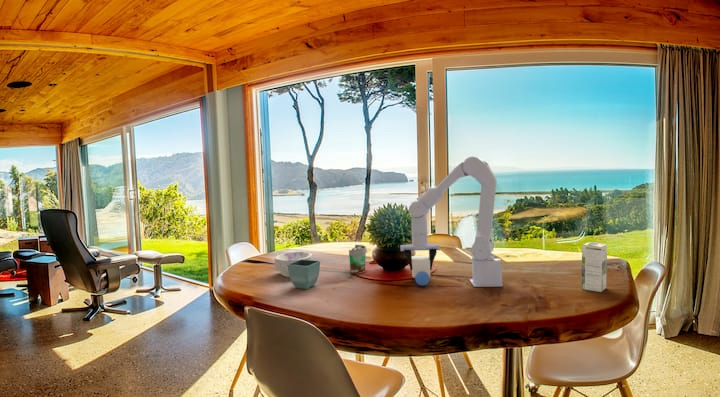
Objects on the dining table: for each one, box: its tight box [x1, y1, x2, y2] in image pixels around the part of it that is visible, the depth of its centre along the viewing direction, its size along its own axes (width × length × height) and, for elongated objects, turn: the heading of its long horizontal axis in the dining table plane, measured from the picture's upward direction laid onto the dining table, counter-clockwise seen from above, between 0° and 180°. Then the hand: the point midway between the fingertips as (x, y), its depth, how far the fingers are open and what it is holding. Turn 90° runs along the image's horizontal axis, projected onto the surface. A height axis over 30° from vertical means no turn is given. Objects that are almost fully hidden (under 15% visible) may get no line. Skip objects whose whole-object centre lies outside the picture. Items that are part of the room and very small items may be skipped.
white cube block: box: [411, 255, 431, 279], centre depth 140 cm, size 6×6×6 cm
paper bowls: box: [274, 251, 313, 278], centre depth 155 cm, size 15×15×8 cm
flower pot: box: [288, 259, 321, 290], centre depth 136 cm, size 9×9×9 cm
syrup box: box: [581, 241, 608, 293], centre depth 120 cm, size 6×6×14 cm
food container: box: [348, 244, 368, 275], centre depth 155 cm, size 12×6×10 cm, turn 168°
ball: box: [414, 271, 431, 287], centre depth 132 cm, size 5×5×5 cm
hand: (420, 269), depth 141 cm, fingers closed on white cube block, 6 cm apart
